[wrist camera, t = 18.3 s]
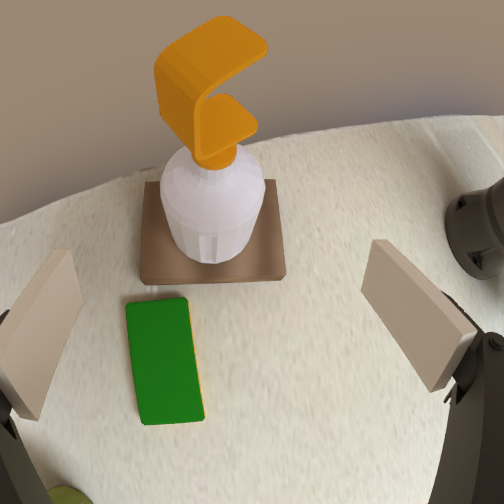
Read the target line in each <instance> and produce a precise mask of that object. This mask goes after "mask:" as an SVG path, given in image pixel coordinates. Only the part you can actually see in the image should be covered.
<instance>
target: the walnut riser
mask: <svg viewBox="0 0 504 504" xmlns="http://www.w3.org/2000/svg"><path fill="white" fill-rule="evenodd" d="M264 182H265V187H266V188H265V193H264V198H263V202H262V205H261V208H260V211H259V214H258V217H257V220H256V222H255V225H254V228H253V231H252V234H251V236H250V239H249V241H248V243H247V244H246V246H245V247H244V249H243V250H242V252H240V253H239V254H237V255H236V256H235V257H233V258H232V259H230V260H228V261H224V262H220V263H217V264H211V263H200V262H198V261H196V260H193V259H191V258H189V257H187V256H186V255H185V254H184V253H183V252H182V251H181V250H180V249H179V248H178V247H177V245H176V243H175V241H174V239H173V236H172V234H171V231H170V227H169V224H168V221H167V217H166V214H165V211H164V207H163V204H162V200H161V196H160V181H158V182H145V189H144V202H143V217H142V236H141V266H140V280H141V281H142V282H143V283H144V284H145V285H178V284H209V283H235V282H257V281H278V280H281V279H282V278H283V277H284V276H285V275H286V267H285V258H284V249H283V239H282V231H281V222H280V213H279V205H278V196H277V188H276V180H273V179H264Z"/></svg>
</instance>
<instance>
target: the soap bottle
mask: <svg viewBox="0 0 504 504" xmlns="http://www.w3.org/2000/svg"><path fill="white" fill-rule="evenodd" d="M267 52H268V46H267V43H266V41H265V40H264V39H263V38H262V37H260V36H259V35H257V34H256V33H254V32H253V31H252V30H250V29H249V28H247V27H246V26H244V25H243V24H241V23H239V22H238V21H236V20H235V19H233V18H232V17H230V16H218V17H215V18H213V19H211V20H209V21H208V22H206V23H204V24H202V25H201V26H199V27H197V28H196V29H194V30H192V31H191V32H189V33H187V34H186V35H184V36H183V37H181V38H179V39H178V40H176V41H175V42H173V43H172V44H170V45H169V46H168V47H167V48H166V49H165V50H164V51H163V52H162V53H161V54H160V55H159V56H158V58H157V60H156V62H155V66H154V75H155V83H156V90H157V97H158V104H159V111H160V115H161V117H162V118H163V120H164V121H165V122H166V123H167V124H168V125H169V127H170V128H171V129H172V130H173V131H174V133H175V134H176V135H177V136H178V137H179V138H180V140H181V141H182V142H183V143H184V145H185V146H184V147H182V148H180V149H179V150H178V151H177V152H176V153H175V154H174V155H173V156H172V158H170V160H169V161H168V163H167V165H166V167H165V169H164V172H163V174H162V177H161V180H160V196H161V200H162V204H163V207H164V211H165V214H166V217H167V221H168V224H169V227H170V231H171V234H172V236H173V239H174V241H175V243H176V245H177V247H178V248H179V249H180V250H181V251H182V252H183V253H184V254H185V255H186V256H187V257H189V258H191V259H193V260H196V261H198V262H200V263H211V264H217V263H220V262H224V261H228V260H230V259H232V258H233V257H235V256H236V255H237V254H239V253H240V252H242V250H243V249H244V247H245V246H246V244H247V243H248V241H249V239H250V236H251V234H252V231H253V228H254V225H255V222H256V220H257V217H258V214H259V211H260V208H261V205H262V202H263V198H264V193H265V188H266V187H265V182H264V176H263V172H262V169H261V167H260V165H259V164H258V162H257V161H256V159H255V158H254V156H253V154H251V153H250V152H249V151H248V150H246V149H245V148H244V147H242V146H241V145H239V144H237V143H238V142H240V141H242V140H244V139H246V138H248V137H250V136H251V135H253V134H255V132H256V131H257V128H258V122H257V120H256V119H255V118H254V117H253V116H252V115H251V114H250V113H249V112H248V111H247V110H246V109H245V108H244V107H242V105H241V104H240V103H238V102H237V101H236V100H235V99H234V98H233V97H232V96H231V95H228V94H218V95H215V96H213V97H211V98H208V99H207V100H205V99H206V97H207V95H209V93H211V92H212V91H213V90H214V89H215V88H216V87H218V86H219V85H221V84H222V83H224V82H225V81H226V80H228V79H229V78H231V77H232V76H234V75H235V74H237V73H238V72H240V71H241V70H243V69H245V68H246V67H248V66H249V65H251V64H253V63H254V62H256V61H257V60H259V59H261V58H263V57H264V56H266V54H267Z"/></svg>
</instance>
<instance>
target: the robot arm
mask: <svg viewBox="0 0 504 504" xmlns="http://www.w3.org/2000/svg"><path fill="white" fill-rule="evenodd" d="M446 231H447V237H448V240H449V244H450V246H451V249H452V251H453V254H454V255H455V257H456V259H457V261H458V262H459V264H460V265H461V266H462V268H463V269H464V270H465V271H466V272H467V273H468V274H470V275H471V276H473V277H474V278H477V279H482V280H483V279H488V278H490V277H493V276H495V275H497V274H499V273H500V272H501V271H502V270H503V269H504V177H503V178H502V179H501V180H499V181H498V182H496V183H495V184H494V185H492V186H491V187H489V188H488V189H483V190H478V191H473V192H468V193H464V194H462V195H460V196H459V197H458V198H456V199H455V200H453V201H452V202H451V204H450V205H449V207H448V210H447V213H446ZM361 292H362V293H363V295H364V296H365V298H366V299H367V300H368V302H369V303H370V305H371V306H372V307H373V309H374V310H375V312H376V313H377V314H378V316H379V317H380V319H381V320H382V322H383V323H384V324H385V326H386V327H387V329H388V330H389V332H390V333H391V335H392V336H393V337H394V339H395V340H396V342H397V343H398V345H399V346H400V348H401V349H402V351H403V352H404V354H405V355H406V357H407V358H408V360H409V361H410V363H411V364H412V366H413V367H414V369H415V370H416V372H417V374H418V375H419V377H420V378H421V380H422V381H423V383H424V384H425V386H426V388H427V389H428V391H429V392H430V393H431V392H434V391H437V390H440V389H442V388H445V387H446V385H447V383H448V382H449V380H450V379H451V377H452V376H453V378H454V379H455V381H456V383H455V384H454V386H453V387H452V389H451V390H450V392H449V393H448V395H447V396H446V398H445V400H444V403H446V402H447V401H448V399H449V398H450V397H451V402H450V403H449V404H450V410H449V417H448V423H447V429H446V434H445V439H444V444H443V449H442V454H441V458H440V462H439V467H438V471H437V475H436V478H435V482H434V486H433V489H432V493H431V496H430V499H429V502H428V504H504V337H503V336H502V335H500V334H497V333H494V332H487V333H484V332H483V331H482V329H481V328H480V327H479V326H478V325H477V324H476V323H475V322H474V321H473V320H472V319H471V318H470V316H469V315H468V314H467V313H466V312H465V313H464V310H463V309H462V308H461V307H460V306H458V304H457V303H456V302H455V301H454V300H453V299H452V298H451V297H450V296H448V295H447V294H445V293H444V292H442V291H441V290H439V289H438V288H437V287H436V286H435V285H434V284H433V283H432V282H431V281H430V280H429V279H428V278H427V277H426V276H425V275H424V274H423V273H422V272H421V271H420V270H419V269H418V268H417V267H416V266H415V265H414V264H412V263H411V262H410V261H409V260H408V259H407V258H406V257H405V256H404V255H403V254H402V253H401V252H400V251H399V250H398V249H396V248H395V247H394V246H393V245H392V244H391V243H390V242H389V241H388V240H387V239H386V240H373V241H372V245H371V250H370V254H369V259H368V263H367V267H366V272H365V276H364V280H363V284H362V288H361ZM83 303H84V301H83V297H82V294H81V290H80V286H79V283H78V279H77V275H76V271H75V267H74V263H73V259H72V254H71V250H70V248H63V249H55V250H54V251H53V252H52V253H51V255H50V256H49V257H48V259H47V260H46V261H45V262H44V264H43V265H42V266H41V268H40V269H39V270H38V272H37V273H36V274H35V276H34V277H33V278H32V280H31V281H30V282H29V284H28V285H27V287H26V288H25V289H24V291H23V292H22V294H21V295H20V296H19V298H18V299H17V301H16V302H15V304H14V305H13V307H12V308H11V310H6V311H5V312H4V313H3V314H2V315H1V316H0V504H54V503H53V501H52V499H51V498H50V496H49V494H48V493H47V491H46V489H45V487H44V485H43V484H42V482H41V480H40V478H39V476H38V474H37V472H36V470H35V468H34V466H33V464H32V462H31V460H30V458H29V456H28V454H27V452H26V449H25V447H24V445H23V443H22V440H21V438H20V436H19V433H18V431H17V428H16V426H15V423H14V421H13V419H12V418H11V416H10V412H11V409H12V407H13V409H14V410H15V411H16V413H17V414H18V415H19V417H20V418H24V419H28V420H33V421H38V420H39V417H40V414H41V410H42V407H43V404H44V401H45V398H46V395H47V392H48V389H49V386H50V384H51V381H52V378H53V375H54V373H55V370H56V367H57V365H58V362H59V359H60V357H61V354H62V352H63V349H64V347H65V344H66V342H67V339H68V337H69V335H70V332H71V330H72V328H73V325H74V323H75V321H76V318H77V316H78V314H79V312H80V309H81V307H82V305H83Z"/></svg>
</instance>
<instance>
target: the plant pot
mask: <svg viewBox="0 0 504 504" xmlns="http://www.w3.org/2000/svg"><path fill="white" fill-rule="evenodd" d="M46 491H47V493H48V494H49V496H50V498H51V499H52V501H53V503H54V504H93V503H92V502H91V501H90V500H89V499H88V498H87V497H86V496H85V495H84V494H83V493H81V492H79V491H77V490H75V489H73V488H71V487H68V486H58V487H55V488H52V489H49V490H46Z"/></svg>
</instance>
